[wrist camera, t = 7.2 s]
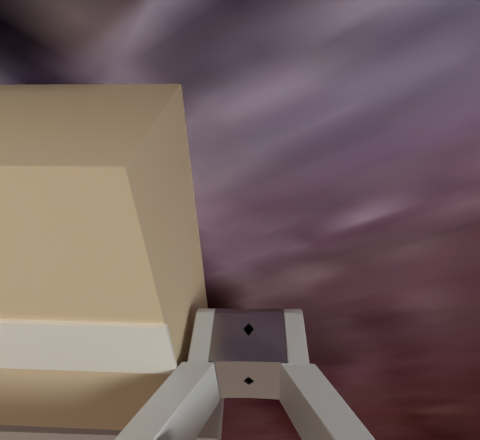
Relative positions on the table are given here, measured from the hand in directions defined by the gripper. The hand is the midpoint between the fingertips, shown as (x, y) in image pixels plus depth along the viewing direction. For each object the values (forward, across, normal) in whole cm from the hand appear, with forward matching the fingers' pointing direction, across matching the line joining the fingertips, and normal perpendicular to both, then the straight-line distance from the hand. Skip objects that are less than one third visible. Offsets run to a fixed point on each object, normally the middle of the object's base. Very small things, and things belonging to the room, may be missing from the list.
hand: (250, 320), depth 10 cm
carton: (+3, +6, -2) cm, 7 cm away
